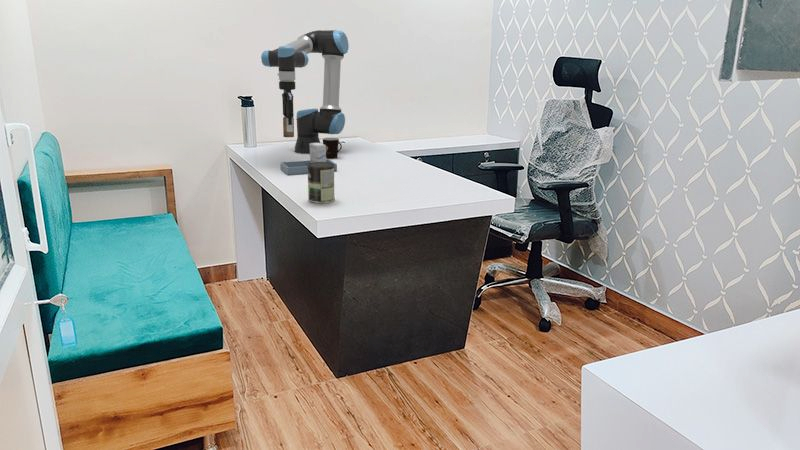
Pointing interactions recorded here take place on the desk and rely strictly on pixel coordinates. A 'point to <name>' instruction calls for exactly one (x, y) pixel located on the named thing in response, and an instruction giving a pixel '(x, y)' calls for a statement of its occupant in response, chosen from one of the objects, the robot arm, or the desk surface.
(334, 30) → the robot arm
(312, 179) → the coffee can
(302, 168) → the tray
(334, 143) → the coffee mug
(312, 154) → the ink box
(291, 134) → the walnut dowel
